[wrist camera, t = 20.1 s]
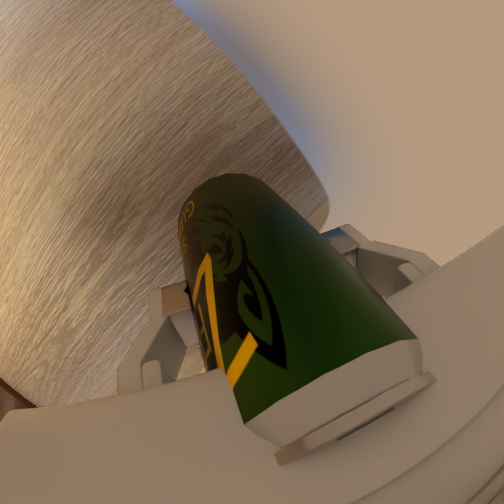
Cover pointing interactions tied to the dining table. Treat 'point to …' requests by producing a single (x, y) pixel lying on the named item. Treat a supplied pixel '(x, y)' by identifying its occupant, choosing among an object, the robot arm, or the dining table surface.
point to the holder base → (11, 400)
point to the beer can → (290, 320)
